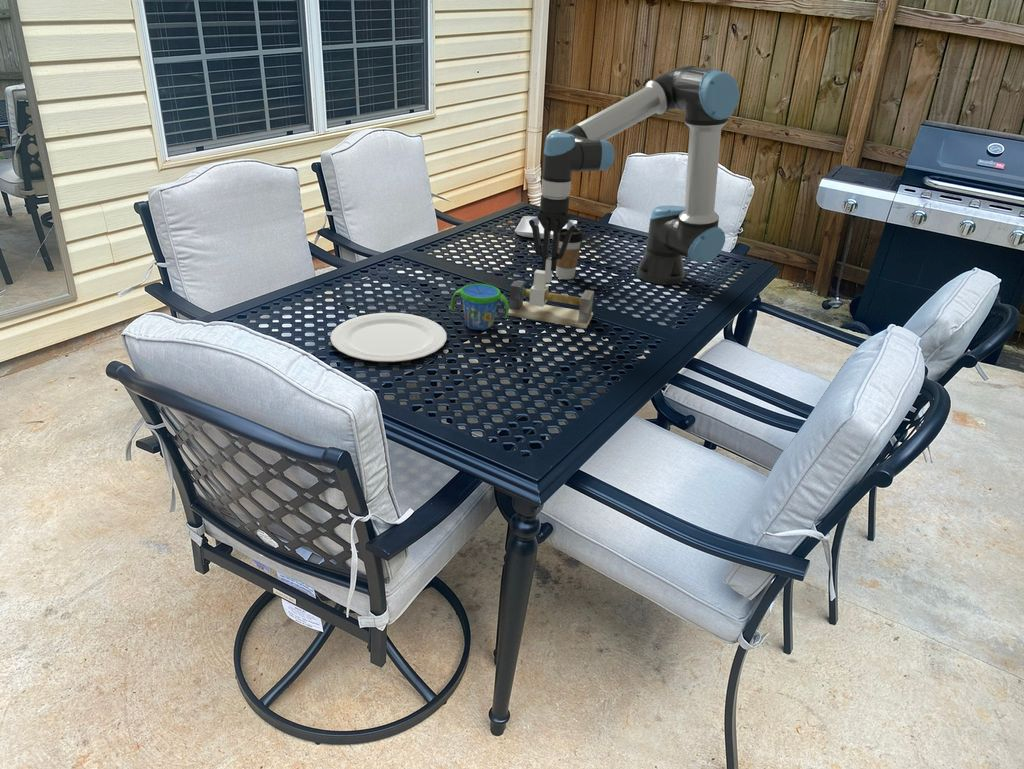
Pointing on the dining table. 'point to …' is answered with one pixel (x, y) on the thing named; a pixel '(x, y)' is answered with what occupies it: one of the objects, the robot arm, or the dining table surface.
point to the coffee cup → (568, 255)
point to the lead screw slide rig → (551, 307)
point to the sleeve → (538, 289)
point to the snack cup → (479, 305)
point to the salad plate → (526, 229)
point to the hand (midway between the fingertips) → (547, 281)
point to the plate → (388, 337)
